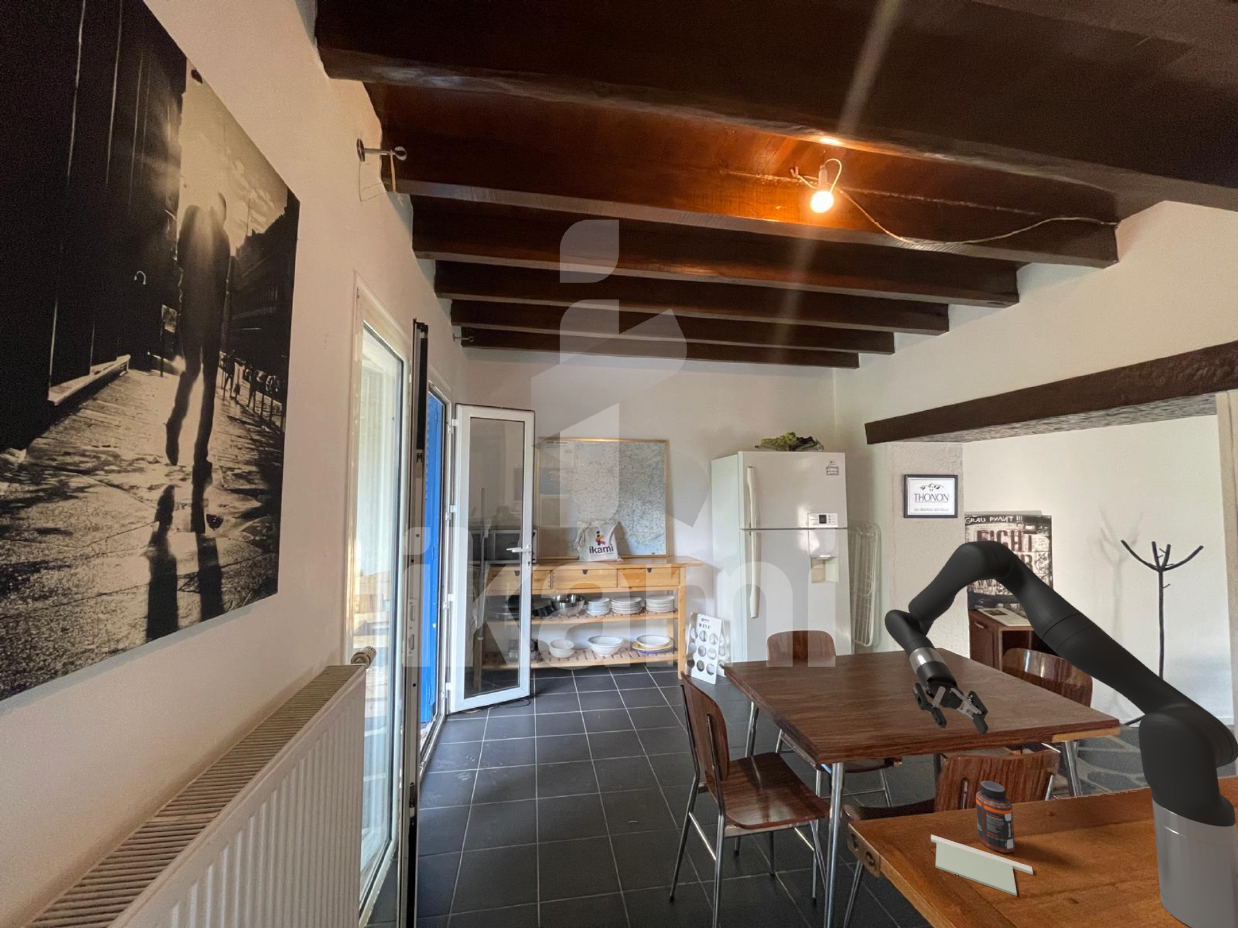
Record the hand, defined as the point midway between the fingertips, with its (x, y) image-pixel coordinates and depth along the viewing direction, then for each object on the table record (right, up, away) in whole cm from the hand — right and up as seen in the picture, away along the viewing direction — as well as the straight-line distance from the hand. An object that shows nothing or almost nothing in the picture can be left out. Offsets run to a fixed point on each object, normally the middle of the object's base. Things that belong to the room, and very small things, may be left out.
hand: (964, 728), depth 108 cm
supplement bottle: (0, -18, -9) cm, 21 cm away
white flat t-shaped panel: (-8, -18, -15) cm, 25 cm away
